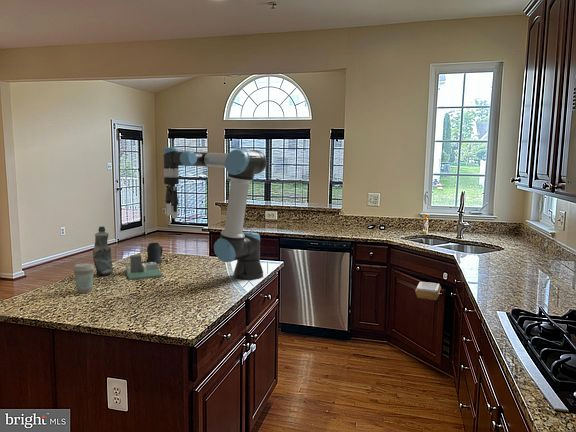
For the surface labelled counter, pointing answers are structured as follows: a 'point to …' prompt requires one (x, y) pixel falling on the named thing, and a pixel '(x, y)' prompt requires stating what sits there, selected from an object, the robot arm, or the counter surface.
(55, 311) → the counter surface
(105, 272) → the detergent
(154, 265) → the fan
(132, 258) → the plug
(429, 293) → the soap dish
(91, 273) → the coffee cup
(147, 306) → the counter surface
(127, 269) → the translucent green tray
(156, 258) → the mug
